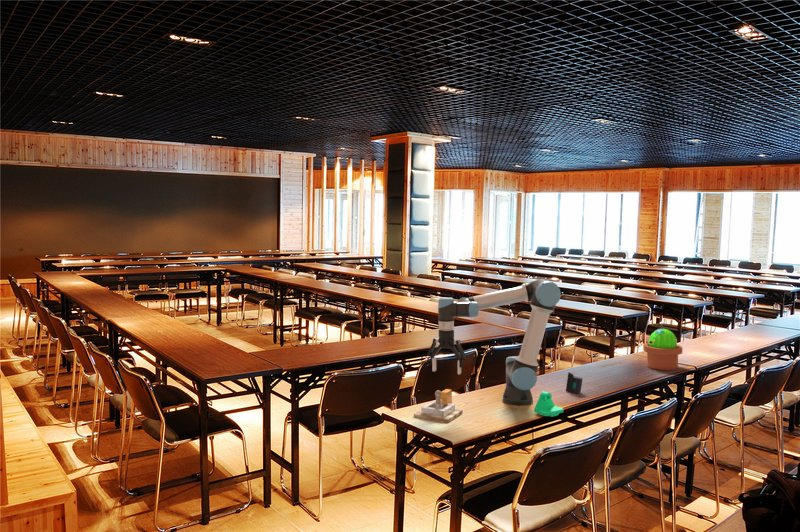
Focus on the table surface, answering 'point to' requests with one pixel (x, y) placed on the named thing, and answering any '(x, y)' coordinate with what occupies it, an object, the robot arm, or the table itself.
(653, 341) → the potted cactus
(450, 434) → the table surface
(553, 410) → the camera mount
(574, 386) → the speaker
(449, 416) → the board
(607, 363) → the table surface
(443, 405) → the square frame with handle
